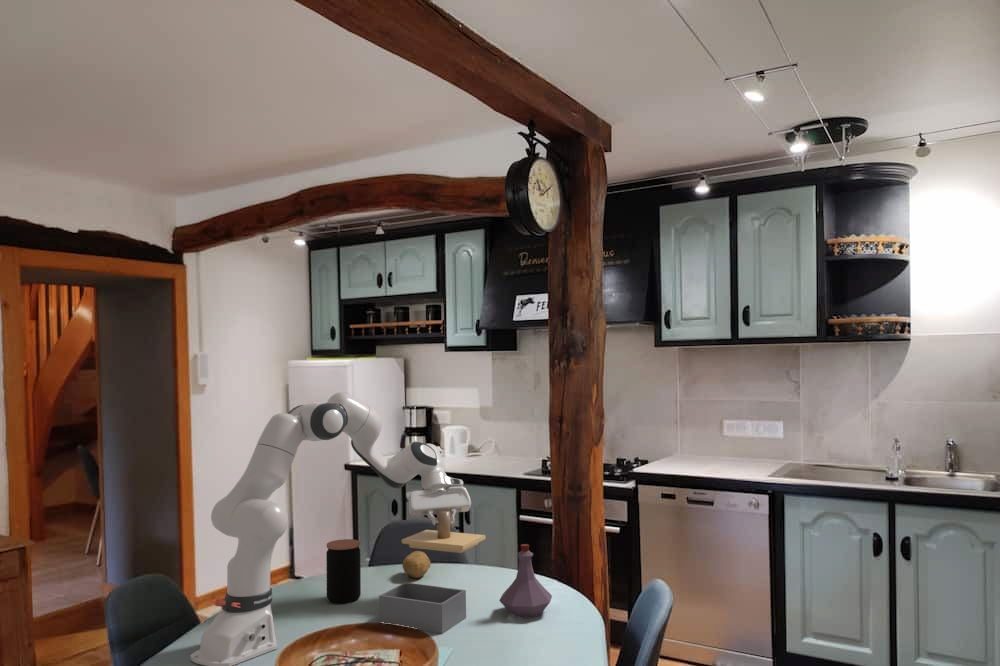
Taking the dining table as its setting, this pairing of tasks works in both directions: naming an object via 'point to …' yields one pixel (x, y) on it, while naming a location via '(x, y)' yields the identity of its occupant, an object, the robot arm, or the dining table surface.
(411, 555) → the potato
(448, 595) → the tub
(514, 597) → the flask
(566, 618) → the dining table surface
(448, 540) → the lid
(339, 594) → the coffee jar
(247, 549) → the robot arm
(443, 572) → the dining table surface
